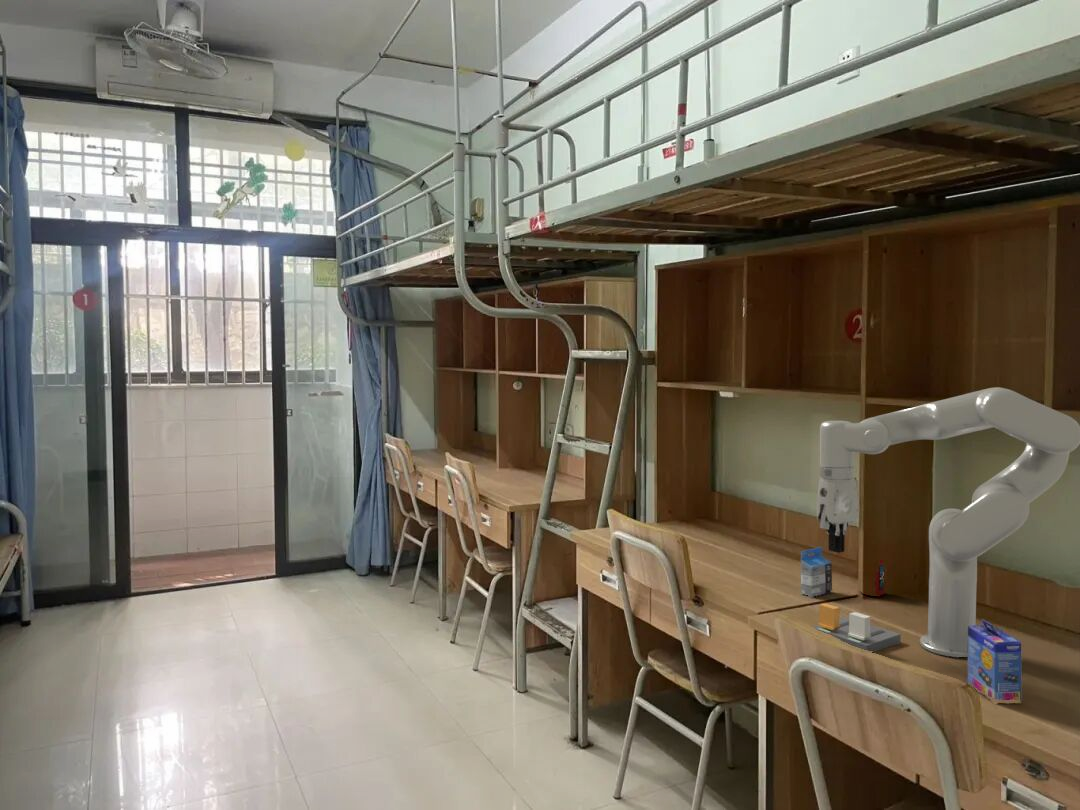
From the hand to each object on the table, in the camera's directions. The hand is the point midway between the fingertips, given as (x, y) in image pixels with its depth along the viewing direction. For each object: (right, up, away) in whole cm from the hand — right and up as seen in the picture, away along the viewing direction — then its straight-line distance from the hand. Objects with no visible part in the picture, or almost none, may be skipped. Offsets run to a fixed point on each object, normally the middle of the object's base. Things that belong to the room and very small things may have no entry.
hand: (836, 551), depth 189 cm
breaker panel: (+4, -20, -1) cm, 21 cm away
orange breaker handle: (-2, -18, 0) cm, 18 cm away
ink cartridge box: (+19, -23, -31) cm, 43 cm away
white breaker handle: (+3, -18, -6) cm, 20 cm away
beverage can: (+22, -18, +34) cm, 45 cm away
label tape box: (+7, -18, +35) cm, 40 cm away
